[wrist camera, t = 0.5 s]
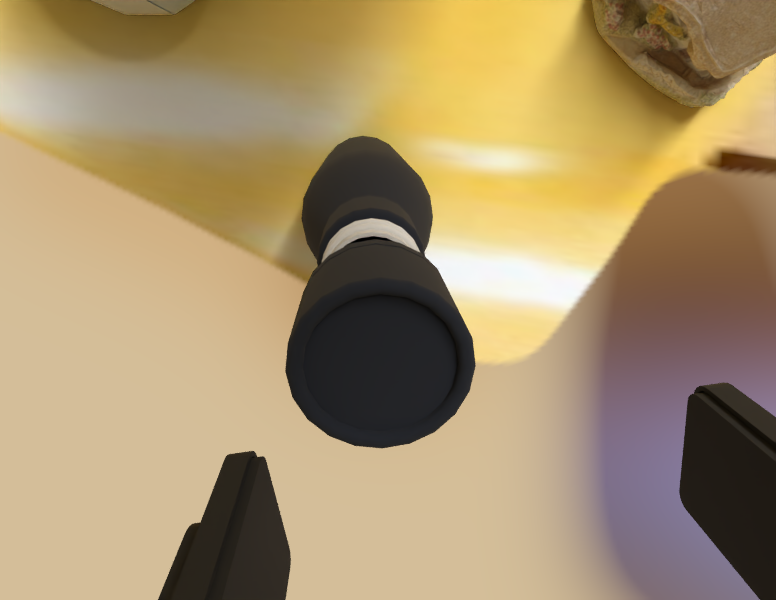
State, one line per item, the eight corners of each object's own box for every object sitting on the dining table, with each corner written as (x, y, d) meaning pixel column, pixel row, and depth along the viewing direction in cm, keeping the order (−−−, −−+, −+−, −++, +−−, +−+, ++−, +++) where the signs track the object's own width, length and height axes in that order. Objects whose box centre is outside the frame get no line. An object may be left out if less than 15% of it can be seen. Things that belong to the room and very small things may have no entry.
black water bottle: (391, 123, 37) (497, 161, 9) (417, 206, 39) (568, 449, 11) (308, 152, 37) (158, 277, 9) (338, 233, 40) (292, 533, 11)
